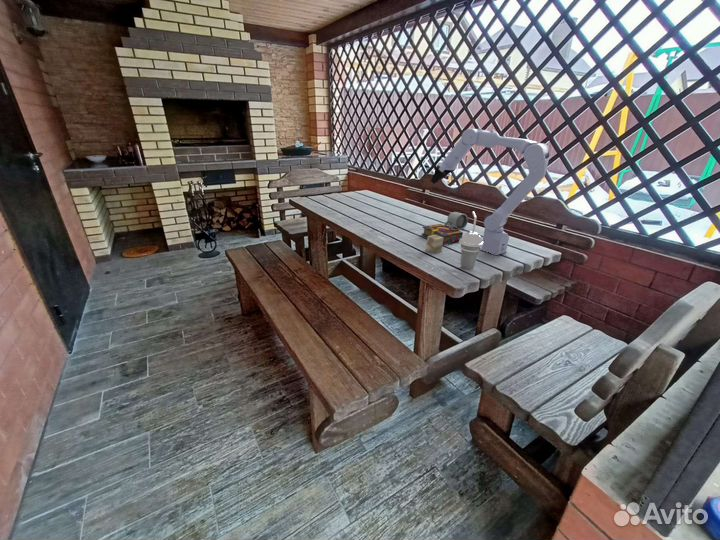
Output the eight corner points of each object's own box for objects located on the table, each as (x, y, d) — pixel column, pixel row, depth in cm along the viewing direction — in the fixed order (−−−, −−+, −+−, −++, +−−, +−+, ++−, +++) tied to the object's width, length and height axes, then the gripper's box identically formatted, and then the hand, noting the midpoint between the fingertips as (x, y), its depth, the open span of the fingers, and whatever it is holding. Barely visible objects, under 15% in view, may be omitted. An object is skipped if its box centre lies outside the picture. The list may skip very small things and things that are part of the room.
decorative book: (440, 232, 161) (441, 222, 159) (464, 242, 148) (465, 231, 146) (421, 235, 156) (422, 225, 154) (444, 246, 143) (446, 235, 141)
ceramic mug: (456, 224, 173) (458, 209, 170) (467, 228, 166) (469, 213, 163) (440, 226, 169) (441, 211, 166) (450, 231, 163) (451, 215, 159)
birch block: (441, 251, 137) (443, 237, 134) (433, 253, 134) (435, 239, 132) (433, 248, 140) (435, 234, 138) (426, 250, 138) (427, 236, 135)
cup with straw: (451, 268, 121) (459, 215, 112) (459, 260, 127) (467, 210, 119) (475, 274, 116) (485, 219, 108) (482, 266, 123) (491, 213, 115)
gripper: (455, 146, 141) (435, 171, 151) (442, 151, 131) (422, 177, 140) (467, 157, 141) (446, 181, 150) (455, 163, 130) (434, 188, 139)
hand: (435, 180), depth 145 cm, fingers open, 7 cm apart
